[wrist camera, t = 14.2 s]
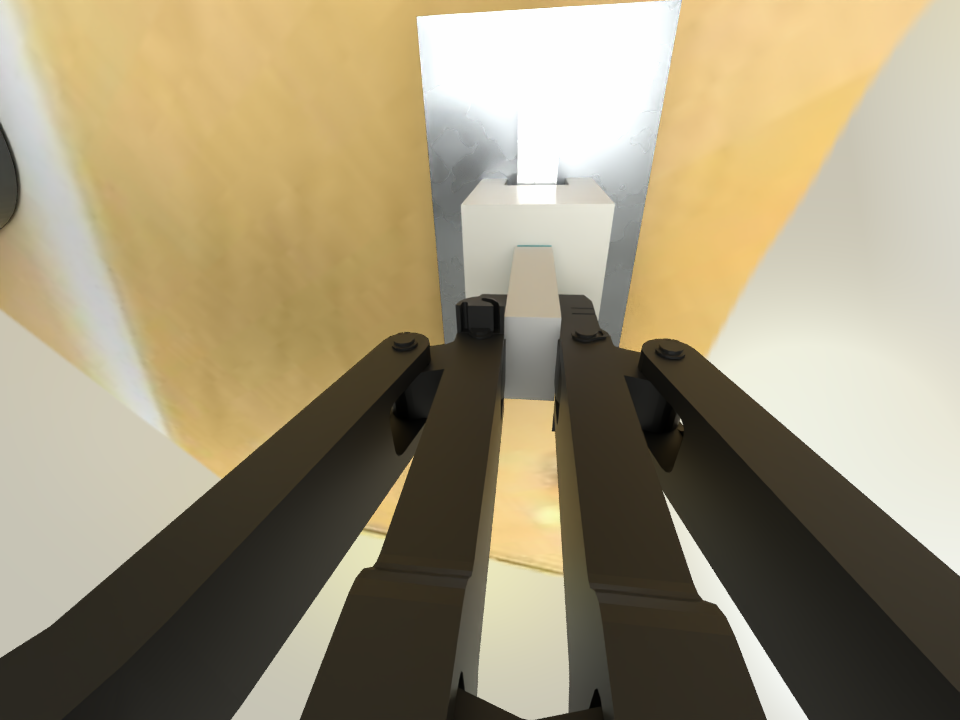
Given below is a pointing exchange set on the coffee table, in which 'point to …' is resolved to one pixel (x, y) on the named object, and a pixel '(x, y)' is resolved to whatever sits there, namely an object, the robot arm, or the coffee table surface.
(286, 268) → the coffee table surface
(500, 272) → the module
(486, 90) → the rail plate
